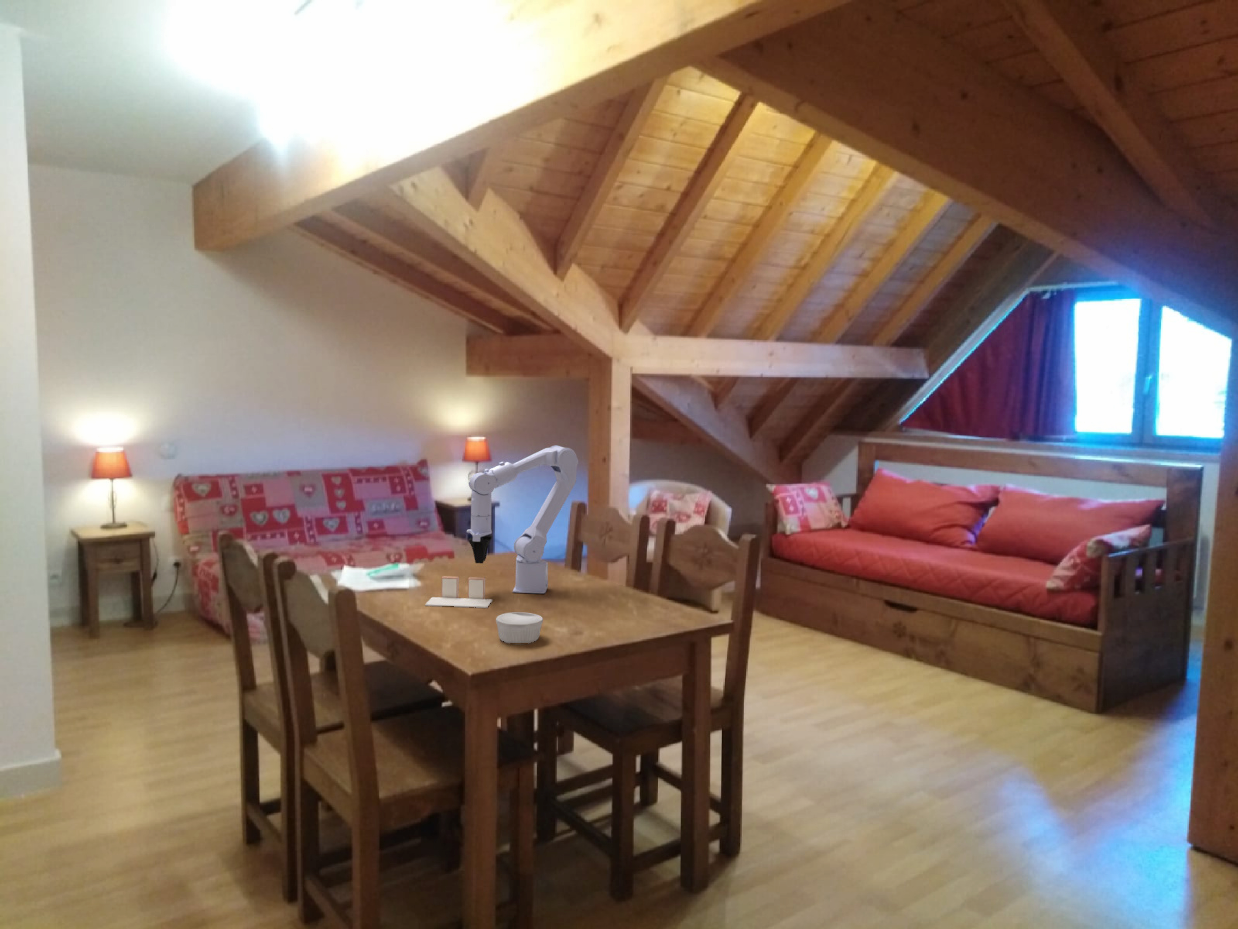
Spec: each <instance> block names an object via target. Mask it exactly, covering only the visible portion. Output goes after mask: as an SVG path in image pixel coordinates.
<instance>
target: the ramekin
mask: <svg viewBox="0 0 1238 929" xmlns="http://www.w3.org/2000/svg"><path fill="white" fill-rule="evenodd" d="M543 622H544V618H543V617H542V616H541V615H539V614H537V613H536V614H535V613H530V612H521V611H518V612H517V611H515V612H505V613H502V614H500V615H497V616H496V619H495V623H496V626H497V632H498V633H497V635H498V638H499V640H501V641H502V642H503V641H504V642H503V643H507V644H510V643H528V644H532V643H535V642H537V641H538V639H539V638H540V633H541V630H542V624H543ZM534 641H535V642H534ZM531 642H532V643H531Z"/></svg>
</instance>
